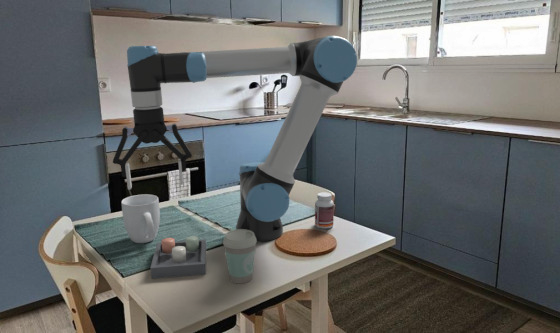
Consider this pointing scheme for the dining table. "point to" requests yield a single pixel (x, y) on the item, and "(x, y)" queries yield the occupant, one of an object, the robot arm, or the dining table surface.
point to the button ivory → (179, 254)
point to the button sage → (192, 244)
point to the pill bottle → (324, 211)
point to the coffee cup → (240, 254)
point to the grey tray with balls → (168, 268)
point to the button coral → (168, 245)
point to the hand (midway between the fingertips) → (156, 185)
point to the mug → (141, 217)
